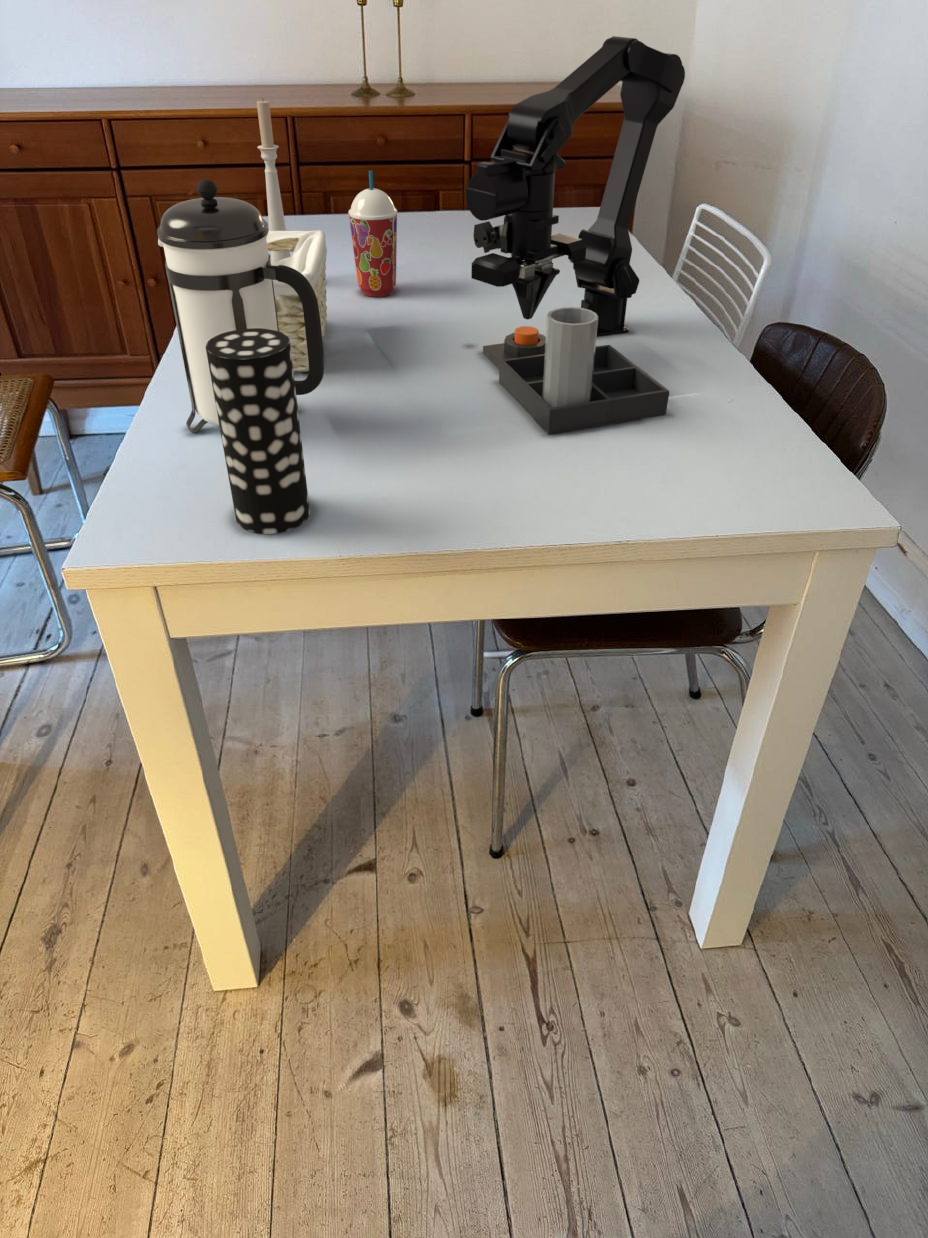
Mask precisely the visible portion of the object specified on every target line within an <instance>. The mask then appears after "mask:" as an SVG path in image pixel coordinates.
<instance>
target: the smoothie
mask: <svg viewBox="0 0 928 1238" xmlns="http://www.w3.org/2000/svg"><path fill="white" fill-rule="evenodd" d="M373 172H374V171H373V170H368V180H369V182H368V184H369V188H366V189H362V190H361V191H360V192H359V193H357V194H356V196H355V197H354V199H353V201H352V203H351V206H350V209H348V218H349V225H350V226H349V227H350V234H351V241H352V247H353V248H352V249H353V256H354V264H355V271H356V278H357V279H356V280H357V286H358V287H359V288H360V291H361V293H362V295H365V296H367V297H371V298H382V297H383V298H384V297H387V296H389V295H391V294H392V293H394V287H396V285H397V253H398V252H397V249H398V248H397V247H398V246H397V243H398V239H397V238H398V209H397V207H395V204H394V202H393V200H392V199H391V197H390V196H389V195H388V194H387V192H385V191H383V190H381V189H378V188H376V187H374V174H373Z"/></svg>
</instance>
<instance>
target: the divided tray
mask: <svg viewBox="0 0 928 1238" xmlns="http://www.w3.org/2000/svg"><path fill="white" fill-rule="evenodd" d="M544 358H545V354H540V355H533V356H526V357H519V358H512V359H505V360H500V361H499V369H498V371H499V372H498V384H499V385H500V386H501V387H502V388H503V389H504V390H505V391H506V392H507V393H508V394H509V395H510V396H511V397H512V398H513V399H514V400H515V401H516V402H517V403H518V405H520V406H521V408H522V409H524V410H525V412H526V413H527V414H529V415H530V417H531V418H532V419H533V420H534V421H535V423H536V424H537V425H538V426H539V427H540V428H541V429H542V430H543V431H544V432H545V433H546V434H547V435H554V434H560V433H567V432H573V431H577V430H584V429H591V428H597V427H603V426H609V425H614V424H621V423H627V422H632V421H639V420H644V419H650V418H657V417H662V416H667V412H668V411H667V410H668V403H669V399H670V398H669V397H670V390H669V389H668V388H667V387H665V386H664V385H663V384H662V383H660V382H659V381H657V380H656V379H654V378H653V377H652V376H651V375H649V374H648V373H647V372H645V371H644V370H643V369H642V368H640V366H638V365H636V363H634V362H633V361H632V360H630V359H628V358H627V357H626V356H625V355H624V354H622V353H621V352H620V351H618V350H617V349H616V348H614V347H613V346H612V345H610V344H605V345H599V346H598V345H597V346H596V348H595V359H594V369H593V380H592V391H591V402H585V403H579V404H573V405H566V406H560V407H554V408H552V407H551V406H550V405H549V404H548V403H547V402H546V401H545V400H544V399H543V398H542V393H543V375H544Z"/></svg>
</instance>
